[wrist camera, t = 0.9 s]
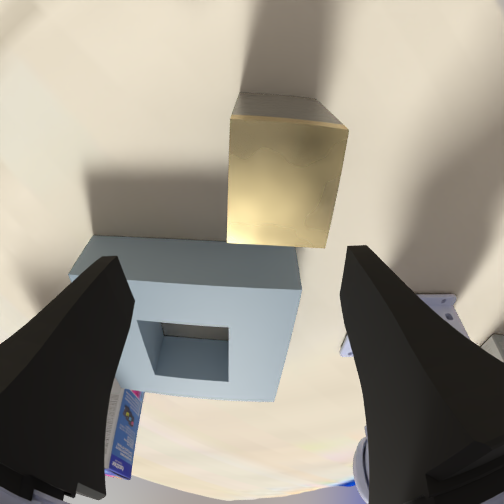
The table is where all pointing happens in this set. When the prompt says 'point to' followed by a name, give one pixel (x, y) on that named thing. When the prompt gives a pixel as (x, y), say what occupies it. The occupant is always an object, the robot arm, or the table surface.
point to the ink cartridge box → (121, 430)
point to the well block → (204, 314)
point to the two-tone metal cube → (283, 170)
